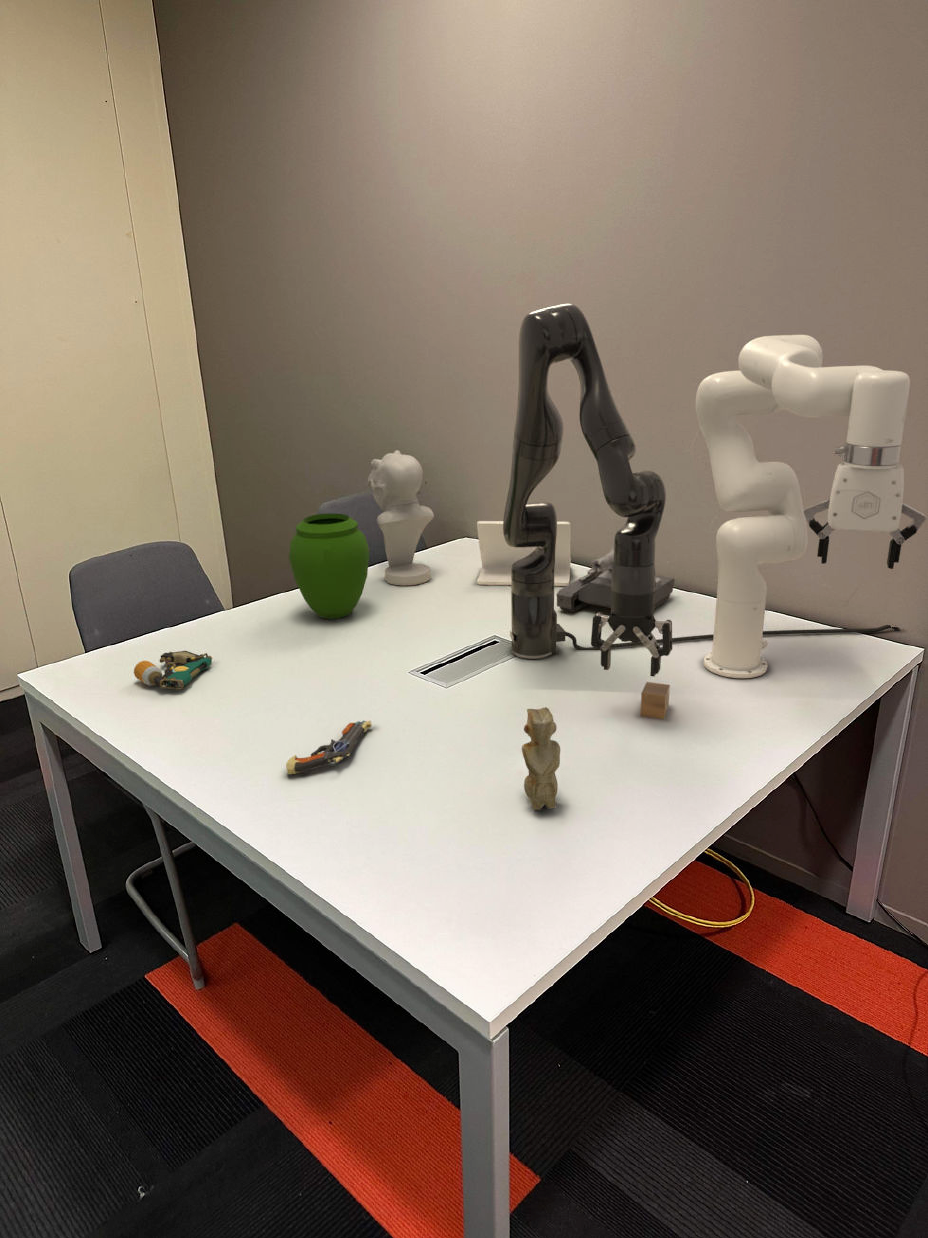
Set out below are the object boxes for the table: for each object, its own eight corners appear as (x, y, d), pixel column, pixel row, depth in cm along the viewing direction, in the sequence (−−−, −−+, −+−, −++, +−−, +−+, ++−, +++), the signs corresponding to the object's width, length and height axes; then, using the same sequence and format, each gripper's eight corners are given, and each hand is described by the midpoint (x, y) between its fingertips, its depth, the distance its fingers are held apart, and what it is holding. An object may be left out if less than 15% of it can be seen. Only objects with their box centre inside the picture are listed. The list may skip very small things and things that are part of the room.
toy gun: (281, 764, 140) (338, 761, 138) (320, 718, 158) (372, 715, 156) (284, 779, 141) (341, 777, 139) (323, 732, 159) (374, 729, 156)
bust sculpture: (408, 559, 256) (402, 442, 244) (444, 580, 236) (440, 453, 224) (358, 568, 250) (349, 447, 237) (391, 590, 230) (383, 460, 217)
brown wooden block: (645, 704, 162) (646, 681, 161) (668, 707, 161) (669, 684, 159) (640, 716, 158) (641, 692, 156) (664, 719, 156) (665, 696, 155)
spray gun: (177, 659, 191) (231, 671, 185) (120, 684, 176) (176, 698, 171) (176, 641, 190) (230, 653, 184) (118, 665, 175) (174, 678, 169)
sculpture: (556, 787, 135) (557, 702, 130) (563, 813, 129) (564, 724, 123) (519, 789, 135) (519, 704, 130) (524, 815, 129) (524, 726, 123)
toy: (603, 584, 229) (605, 530, 224) (673, 597, 218) (677, 540, 213) (555, 612, 210) (556, 553, 205) (630, 627, 199) (633, 566, 194)
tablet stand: (569, 585, 229) (570, 524, 223) (476, 584, 232) (475, 523, 226) (570, 566, 246) (571, 508, 240) (484, 564, 249) (483, 507, 243)
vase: (389, 608, 216) (383, 514, 208) (339, 633, 201) (330, 533, 192) (330, 596, 226) (322, 506, 218) (278, 619, 211) (267, 523, 202)
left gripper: (587, 588, 149) (586, 674, 155) (669, 596, 144) (665, 685, 149) (599, 577, 156) (597, 659, 161) (678, 584, 150) (673, 669, 156)
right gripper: (809, 457, 129) (797, 566, 135) (938, 462, 123) (919, 575, 129) (810, 449, 135) (798, 553, 142) (933, 453, 129) (915, 561, 135)
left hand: (630, 671), depth 155 cm, fingers open, 8 cm apart
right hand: (856, 563), depth 135 cm, fingers open, 9 cm apart
